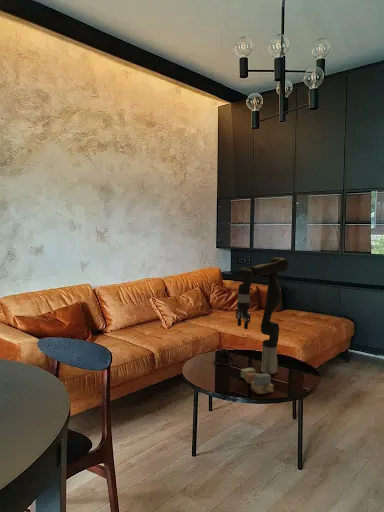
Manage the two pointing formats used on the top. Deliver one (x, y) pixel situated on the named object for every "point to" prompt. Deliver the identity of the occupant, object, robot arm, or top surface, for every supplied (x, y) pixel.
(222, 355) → the crystal cluster
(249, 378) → the terracotta brick
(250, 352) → the top surface
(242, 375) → the sage brick
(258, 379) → the slate brick
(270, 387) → the birch brick
